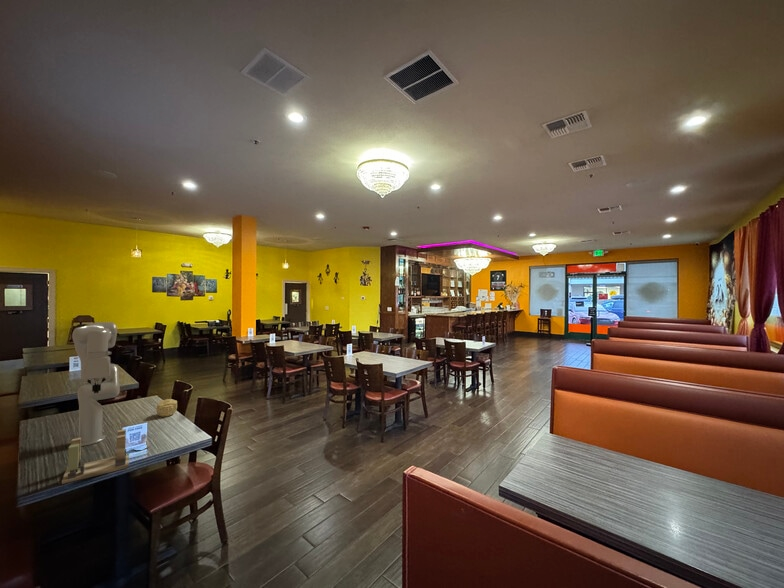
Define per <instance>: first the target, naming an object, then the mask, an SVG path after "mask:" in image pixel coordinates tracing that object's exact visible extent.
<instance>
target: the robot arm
mask: <svg viewBox="0 0 784 588" xmlns="http://www.w3.org/2000/svg"><path fill="white" fill-rule="evenodd" d="M117 336H118V327H117V325H116V323H114V322H111V321H108V322H90V323H87V324H85V325H84V326H79V327H75V328H74V329H73V331H72V336H71V338H72V342H73V344H74V349H75V352H76V355H77V356H78V358H79V361H80V377H81V383H86V384H83V385H81V386H80V387H79V388H77V391H76V392H77V401H78V438H81V447H82V446H84V447H85V446H90V445H95V444H98V443H100V442H103V441H105V439H107V438H106V437H107V436H106V434H103V415H104V414H103V409H104V408H103V406H102V404H101V403H99V402H98V401H100V400H106V399H112V398H116V397H118V396H119V394H120V391H121V390H120V389H121V387H120V371H119V367H118V365H117V364H115V363H112V362H111V357H110V356H109V355H112V351H109V349H112V348H113V347H115V345H116V341H117Z"/></svg>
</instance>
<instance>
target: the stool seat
mask: <svg viewBox="0 0 784 588" xmlns="http://www.w3.org/2000/svg"><path fill="white" fill-rule="evenodd" d="M126 431H127V429H126V428H125V429H119V430H117V437H116V451H115V456H110V457H106V458H102V459H98V460H93V461H89V462H85V463H82V462H83V461H82V458H81V457H82V446H81V438H79V437H76V438H73V439H71V441H70V445H75V444H79V462H78V469H76V472H73V473H71V471H68V466H67V467H66V470H65V472H64V474H63V477H62V480H61V484H62V485H63V484H68V483H72V482H76V481H80V480H84V479H88V478H92V477H97V476H100V475H105V474H109V473H112V472H117V471H120V470H121V471H122V470H124V469H129V468H130V467H129V466H130V453H129V454H128V453H127V449H126V437H127V436H126V435H127V434H126V433H127V432H126ZM126 454H127V455H126Z"/></svg>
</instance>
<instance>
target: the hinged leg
mask: <svg viewBox="0 0 784 588" xmlns="http://www.w3.org/2000/svg"><path fill="white" fill-rule="evenodd" d="M67 457H68V460H67V467H68V471H71V473H73V472H76V469H78V462H79V444H75V445H71V444H70V445H69V446H68V456H67Z"/></svg>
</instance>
